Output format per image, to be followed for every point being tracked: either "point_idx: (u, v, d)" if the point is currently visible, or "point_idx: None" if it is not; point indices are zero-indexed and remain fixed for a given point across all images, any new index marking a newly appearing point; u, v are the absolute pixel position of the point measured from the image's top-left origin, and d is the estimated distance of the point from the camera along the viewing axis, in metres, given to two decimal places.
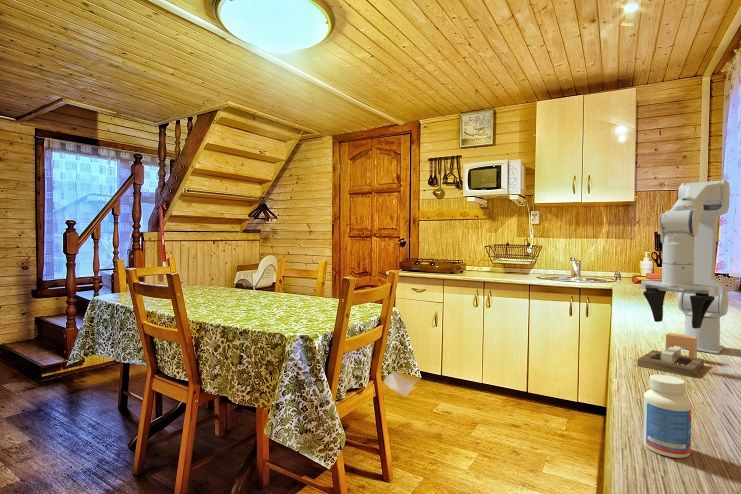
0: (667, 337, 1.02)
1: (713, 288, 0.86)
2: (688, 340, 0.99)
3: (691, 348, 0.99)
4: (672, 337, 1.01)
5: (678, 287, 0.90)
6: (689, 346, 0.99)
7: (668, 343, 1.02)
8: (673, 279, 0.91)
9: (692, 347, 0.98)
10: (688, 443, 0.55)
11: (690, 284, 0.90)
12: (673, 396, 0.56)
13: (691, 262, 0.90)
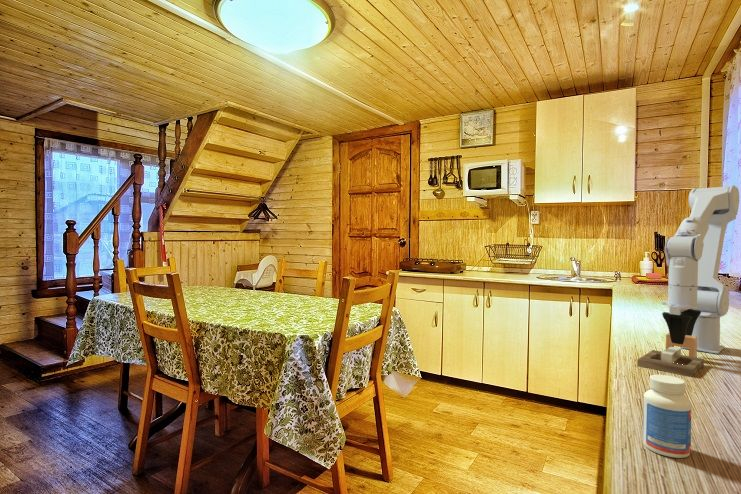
0: (667, 337, 1.02)
1: (669, 306, 0.97)
2: (688, 340, 0.99)
3: (691, 348, 0.99)
4: None
5: (667, 304, 1.02)
6: (689, 346, 0.99)
7: (668, 343, 1.02)
8: (668, 297, 1.03)
9: (692, 347, 0.98)
10: (688, 443, 0.55)
11: (675, 303, 1.00)
12: (673, 396, 0.56)
13: (694, 284, 0.98)
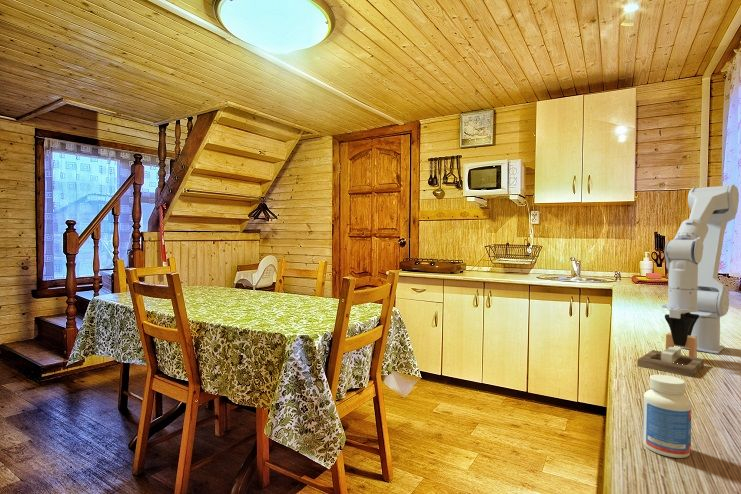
0: (667, 337, 1.02)
1: (669, 310, 0.97)
2: (688, 340, 0.99)
3: (691, 348, 0.99)
4: None
5: (667, 307, 1.02)
6: (689, 346, 0.99)
7: (668, 343, 1.02)
8: (668, 300, 1.03)
9: (692, 347, 0.98)
10: (688, 443, 0.55)
11: (675, 306, 1.00)
12: (673, 396, 0.56)
13: (694, 287, 0.98)
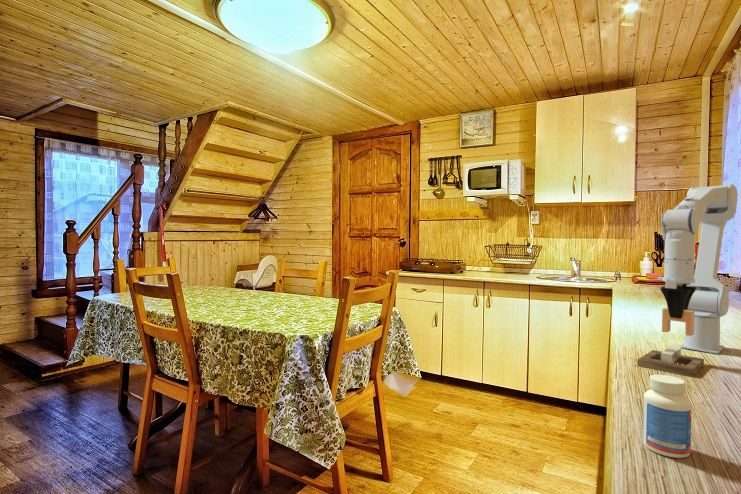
0: (663, 312, 0.99)
1: (665, 280, 0.94)
2: (685, 314, 0.96)
3: (688, 322, 0.96)
4: (668, 311, 0.99)
5: (663, 280, 0.99)
6: (686, 320, 0.96)
7: (664, 318, 0.99)
8: (664, 272, 1.00)
9: (689, 321, 0.96)
10: (688, 443, 0.55)
11: (672, 278, 0.97)
12: (673, 396, 0.56)
13: (691, 258, 0.95)
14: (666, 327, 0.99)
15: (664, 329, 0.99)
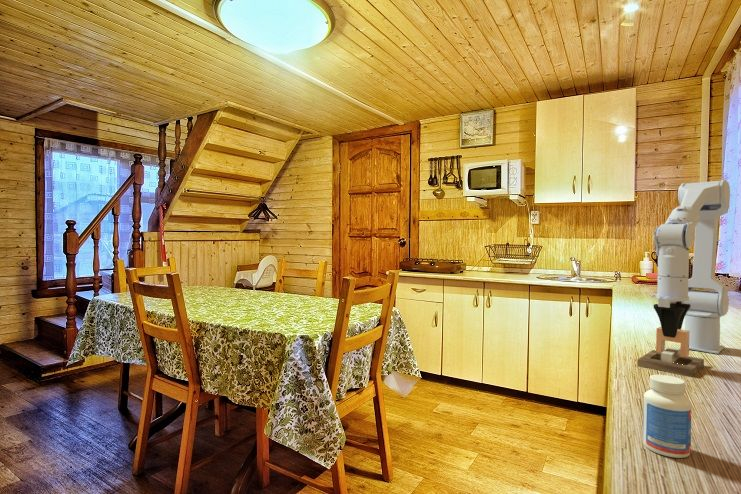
0: (657, 331, 0.96)
1: (658, 298, 0.91)
2: (680, 334, 0.92)
3: (683, 343, 0.92)
4: None
5: (656, 297, 0.96)
6: (681, 341, 0.92)
7: (659, 338, 0.95)
8: (657, 289, 0.96)
9: (684, 342, 0.92)
10: (688, 443, 0.55)
11: (665, 295, 0.93)
12: (673, 396, 0.56)
13: (685, 275, 0.92)
14: (660, 347, 0.95)
15: (658, 350, 0.95)
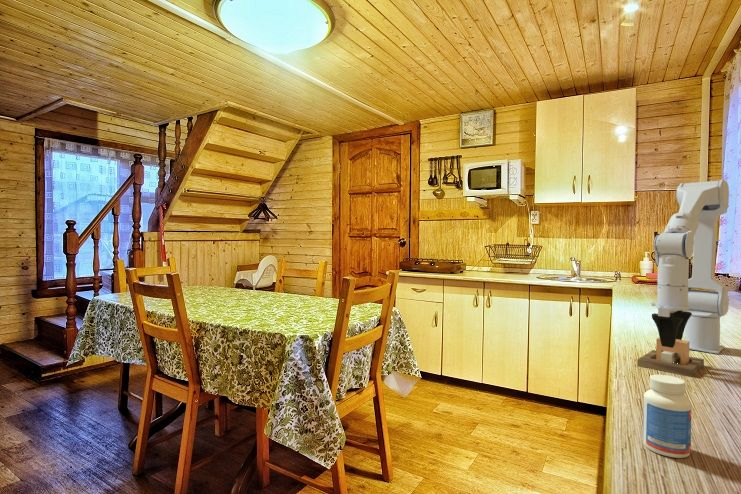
0: (657, 341, 0.96)
1: (658, 308, 0.91)
2: (680, 345, 0.93)
3: (683, 353, 0.92)
4: None
5: (656, 306, 0.96)
6: (681, 351, 0.92)
7: (658, 348, 0.95)
8: (657, 298, 0.96)
9: (684, 352, 0.92)
10: (688, 443, 0.55)
11: (665, 304, 0.93)
12: (673, 396, 0.56)
13: (685, 284, 0.92)
14: (660, 358, 0.95)
15: None
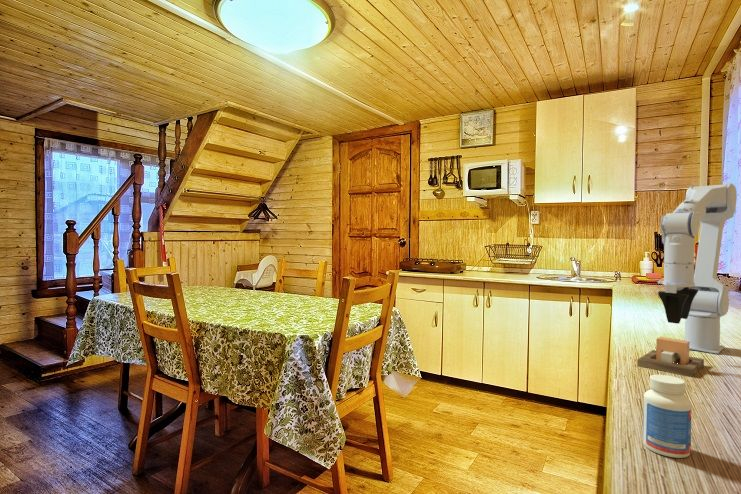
0: (657, 341, 0.96)
1: (665, 285, 0.94)
2: (680, 345, 0.93)
3: (683, 353, 0.92)
4: (662, 341, 0.95)
5: (663, 283, 0.99)
6: (681, 351, 0.92)
7: (658, 348, 0.95)
8: None
9: (684, 352, 0.92)
10: (688, 443, 0.55)
11: (671, 282, 0.97)
12: (673, 396, 0.56)
13: (691, 262, 0.95)
14: (660, 358, 0.95)
15: None
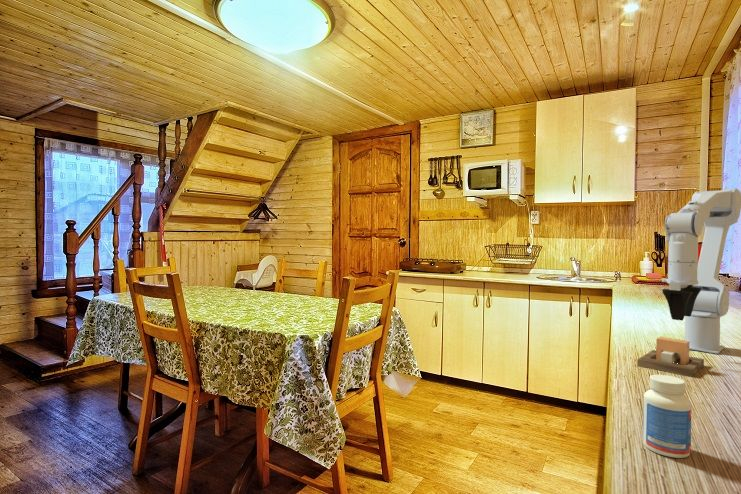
0: (657, 341, 0.96)
1: (669, 282, 0.97)
2: (680, 345, 0.93)
3: (683, 353, 0.92)
4: (662, 341, 0.95)
5: (667, 281, 1.02)
6: (681, 351, 0.92)
7: (658, 348, 0.95)
8: (668, 274, 1.02)
9: (684, 352, 0.92)
10: (688, 443, 0.55)
11: (675, 280, 0.99)
12: (673, 396, 0.56)
13: (694, 260, 0.98)
14: (660, 358, 0.95)
15: None
